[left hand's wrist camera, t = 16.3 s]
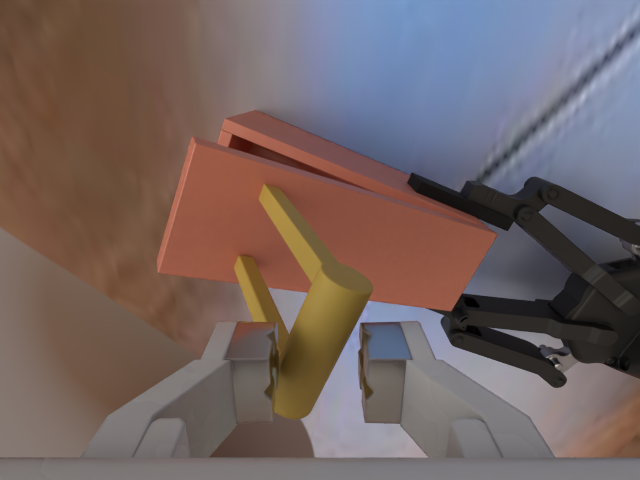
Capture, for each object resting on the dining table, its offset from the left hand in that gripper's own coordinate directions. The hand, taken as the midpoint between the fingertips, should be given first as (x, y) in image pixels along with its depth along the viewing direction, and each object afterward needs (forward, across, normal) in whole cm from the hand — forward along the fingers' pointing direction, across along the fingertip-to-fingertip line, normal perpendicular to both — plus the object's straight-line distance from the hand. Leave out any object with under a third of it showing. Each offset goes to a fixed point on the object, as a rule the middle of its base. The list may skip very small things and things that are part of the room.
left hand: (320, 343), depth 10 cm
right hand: (+16, +5, -2) cm, 17 cm away
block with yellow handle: (+9, +1, -1) cm, 10 cm away
